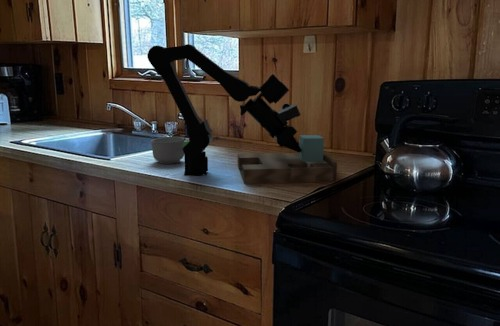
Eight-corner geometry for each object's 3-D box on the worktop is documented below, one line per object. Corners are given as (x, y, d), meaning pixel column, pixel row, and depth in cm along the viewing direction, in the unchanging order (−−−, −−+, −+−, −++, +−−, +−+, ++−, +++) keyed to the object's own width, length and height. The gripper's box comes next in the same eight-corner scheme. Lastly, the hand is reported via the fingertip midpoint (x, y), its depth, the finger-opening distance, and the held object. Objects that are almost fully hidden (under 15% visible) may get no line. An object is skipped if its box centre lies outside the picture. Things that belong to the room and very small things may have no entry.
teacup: (183, 165, 150) (182, 141, 149) (149, 165, 150) (148, 141, 148) (186, 157, 164) (186, 134, 162) (155, 157, 163) (154, 134, 162)
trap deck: (244, 183, 128) (244, 164, 127) (237, 166, 150) (237, 149, 148) (336, 181, 131) (337, 162, 130) (316, 164, 152) (317, 148, 151)
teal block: (303, 162, 137) (303, 138, 136) (298, 157, 143) (299, 135, 141) (323, 161, 138) (324, 138, 136) (318, 157, 144) (318, 135, 142)
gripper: (290, 97, 126) (328, 137, 130) (278, 93, 144) (312, 127, 148) (261, 126, 127) (299, 165, 130) (253, 118, 145) (287, 152, 149)
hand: (300, 151), depth 139 cm, fingers closed, pressing on teal block
